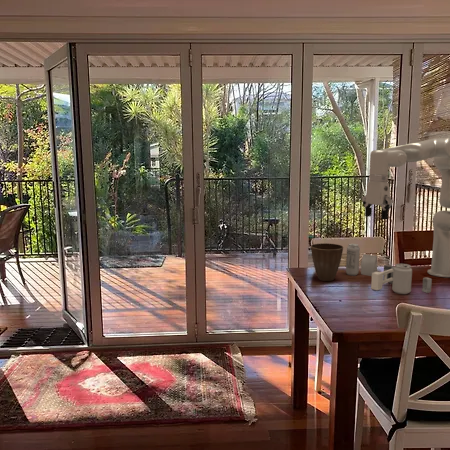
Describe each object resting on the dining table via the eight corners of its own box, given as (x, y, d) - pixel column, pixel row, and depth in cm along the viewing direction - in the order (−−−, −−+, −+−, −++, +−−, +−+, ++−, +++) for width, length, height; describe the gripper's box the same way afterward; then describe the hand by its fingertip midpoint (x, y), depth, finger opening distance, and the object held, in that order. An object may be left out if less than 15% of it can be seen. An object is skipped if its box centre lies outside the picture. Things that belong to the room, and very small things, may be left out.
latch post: (426, 290, 187) (427, 277, 186) (430, 292, 185) (431, 278, 184) (422, 291, 186) (423, 278, 185) (426, 292, 184) (427, 279, 183)
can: (412, 295, 181) (414, 267, 179) (393, 294, 183) (395, 266, 181) (408, 289, 189) (410, 263, 187) (390, 288, 190) (392, 262, 188)
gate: (398, 282, 198) (399, 267, 197) (377, 290, 187) (378, 274, 186) (392, 281, 200) (393, 266, 199) (371, 288, 189) (371, 273, 188)
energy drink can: (361, 274, 212) (362, 245, 210) (352, 276, 209) (353, 246, 207) (351, 272, 218) (353, 243, 215) (343, 273, 215) (344, 244, 212)
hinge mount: (388, 279, 204) (389, 264, 203) (400, 283, 197) (401, 267, 196) (381, 280, 202) (382, 265, 201) (393, 285, 196) (394, 269, 194)
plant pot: (307, 281, 201) (308, 248, 198) (312, 273, 215) (313, 242, 212) (340, 284, 196) (342, 250, 194) (342, 276, 210) (344, 244, 208)
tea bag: (374, 276, 209) (375, 256, 208) (360, 274, 214) (361, 254, 212) (376, 275, 212) (377, 255, 210) (363, 272, 216) (364, 253, 215)
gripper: (400, 179, 180) (397, 219, 183) (370, 177, 196) (368, 214, 199) (386, 180, 177) (384, 221, 180) (357, 178, 193) (355, 215, 196)
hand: (376, 217), depth 189 cm, fingers open, 9 cm apart
